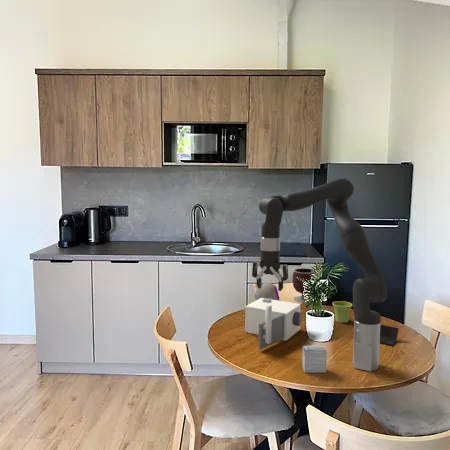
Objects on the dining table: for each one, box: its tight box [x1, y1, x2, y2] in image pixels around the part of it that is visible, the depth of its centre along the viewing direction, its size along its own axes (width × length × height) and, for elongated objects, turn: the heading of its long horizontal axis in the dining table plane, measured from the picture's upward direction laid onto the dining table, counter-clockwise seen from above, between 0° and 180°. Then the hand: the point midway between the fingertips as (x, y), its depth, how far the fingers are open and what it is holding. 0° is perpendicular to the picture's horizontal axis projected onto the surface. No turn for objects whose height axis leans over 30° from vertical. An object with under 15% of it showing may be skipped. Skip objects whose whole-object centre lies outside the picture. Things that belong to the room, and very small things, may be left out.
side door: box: [258, 305, 284, 351], centre depth 177 cm, size 5×16×18 cm, turn 137°
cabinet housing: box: [244, 298, 303, 342], centre depth 196 cm, size 16×22×13 cm
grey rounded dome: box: [254, 282, 280, 301], centre depth 225 cm, size 13×13×15 cm
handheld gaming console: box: [380, 324, 400, 347], centre depth 186 cm, size 12×7×10 cm
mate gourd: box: [292, 267, 314, 304], centre depth 245 cm, size 16×14×20 cm
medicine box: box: [301, 345, 328, 374], centre depth 157 cm, size 8×4×9 cm, turn 92°
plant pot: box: [332, 300, 353, 324], centre depth 210 cm, size 9×9×9 cm
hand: (269, 289), depth 170 cm, fingers open, 8 cm apart
